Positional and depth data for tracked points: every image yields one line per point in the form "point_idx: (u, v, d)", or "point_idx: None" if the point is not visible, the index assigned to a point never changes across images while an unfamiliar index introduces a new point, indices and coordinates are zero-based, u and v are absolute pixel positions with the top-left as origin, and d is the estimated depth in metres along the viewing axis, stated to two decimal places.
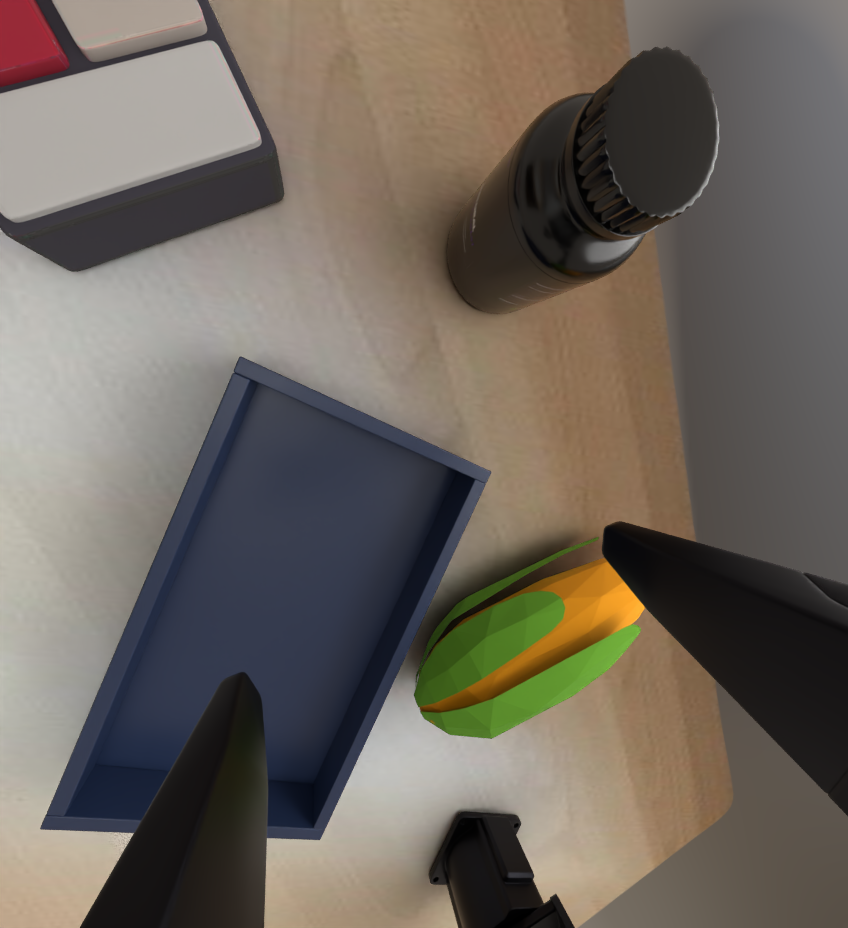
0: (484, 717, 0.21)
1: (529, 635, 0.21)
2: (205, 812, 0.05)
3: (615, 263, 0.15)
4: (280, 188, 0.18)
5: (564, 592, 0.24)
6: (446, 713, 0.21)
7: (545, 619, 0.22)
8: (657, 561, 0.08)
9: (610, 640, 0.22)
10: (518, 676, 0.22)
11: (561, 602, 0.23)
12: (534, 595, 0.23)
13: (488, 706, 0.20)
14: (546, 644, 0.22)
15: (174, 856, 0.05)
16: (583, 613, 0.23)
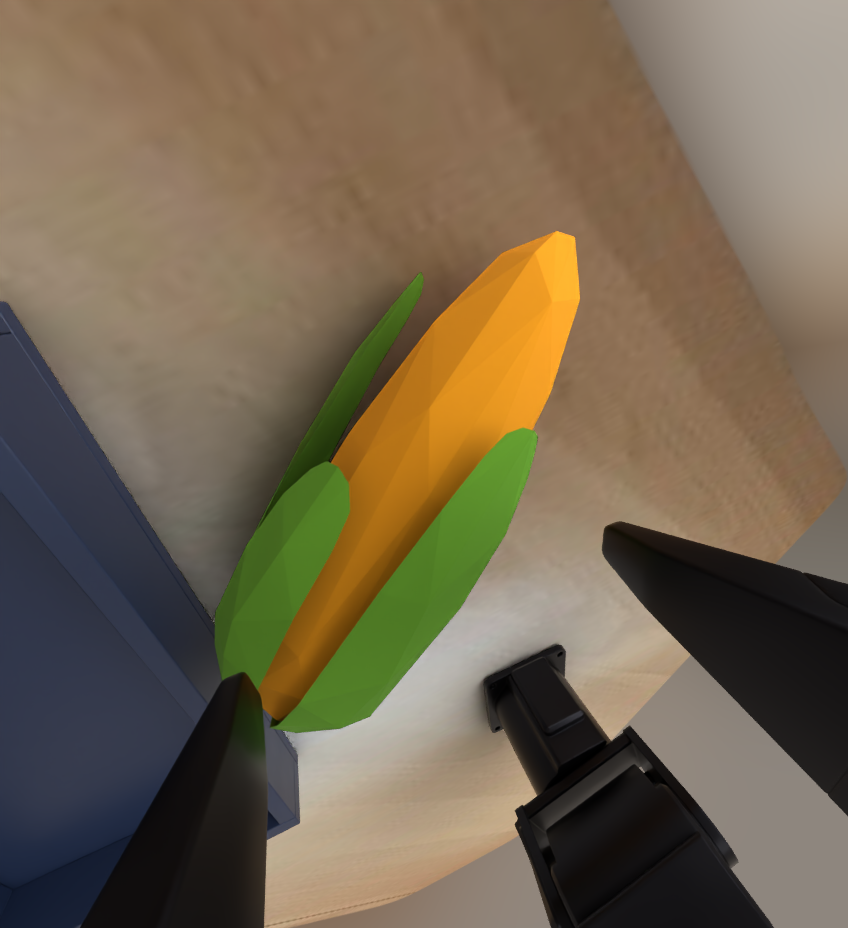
0: (315, 722, 0.11)
1: (296, 582, 0.10)
2: (205, 812, 0.05)
3: None
4: None
5: (364, 440, 0.11)
6: (275, 727, 0.12)
7: (315, 532, 0.10)
8: (657, 561, 0.08)
9: (464, 497, 0.09)
10: (339, 637, 0.11)
11: (339, 477, 0.10)
12: (298, 487, 0.11)
13: (303, 713, 0.11)
14: (358, 563, 0.11)
15: (174, 856, 0.05)
16: (404, 466, 0.10)
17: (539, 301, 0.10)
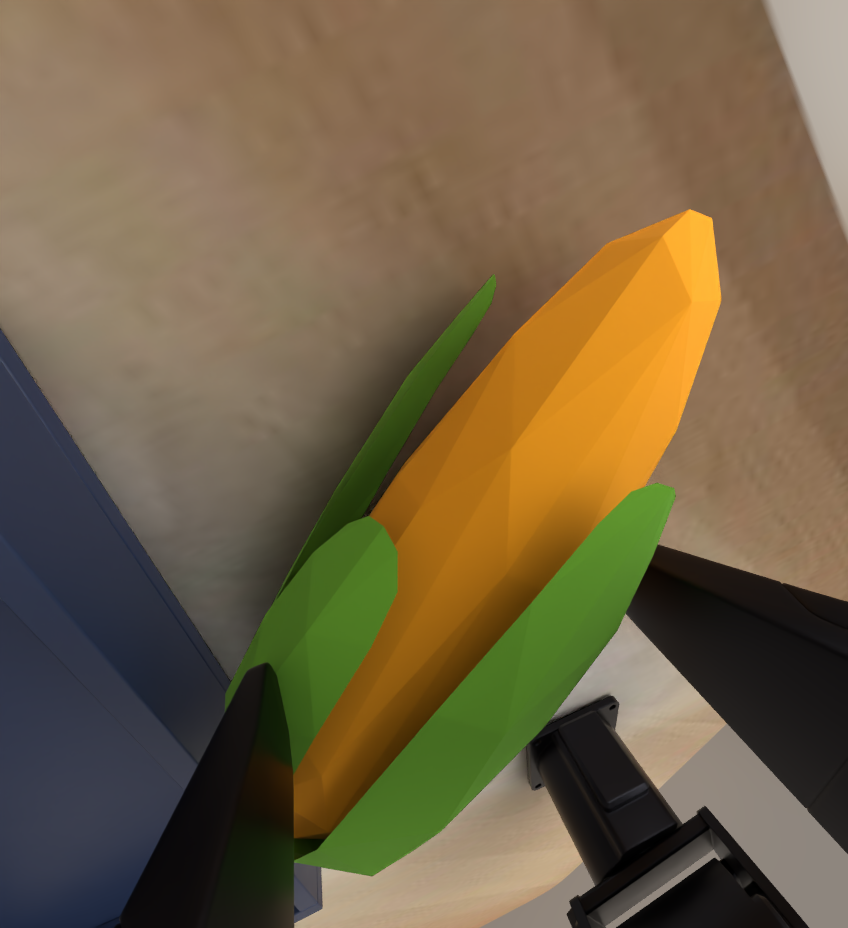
0: (339, 866, 0.08)
1: (321, 685, 0.07)
2: (240, 795, 0.05)
3: None
4: None
5: (418, 488, 0.08)
6: None
7: (350, 616, 0.07)
8: None
9: (566, 584, 0.06)
10: (376, 754, 0.08)
11: (385, 540, 0.07)
12: (331, 547, 0.08)
13: (324, 857, 0.08)
14: (406, 657, 0.08)
15: (214, 836, 0.05)
16: (474, 528, 0.07)
17: (671, 302, 0.07)
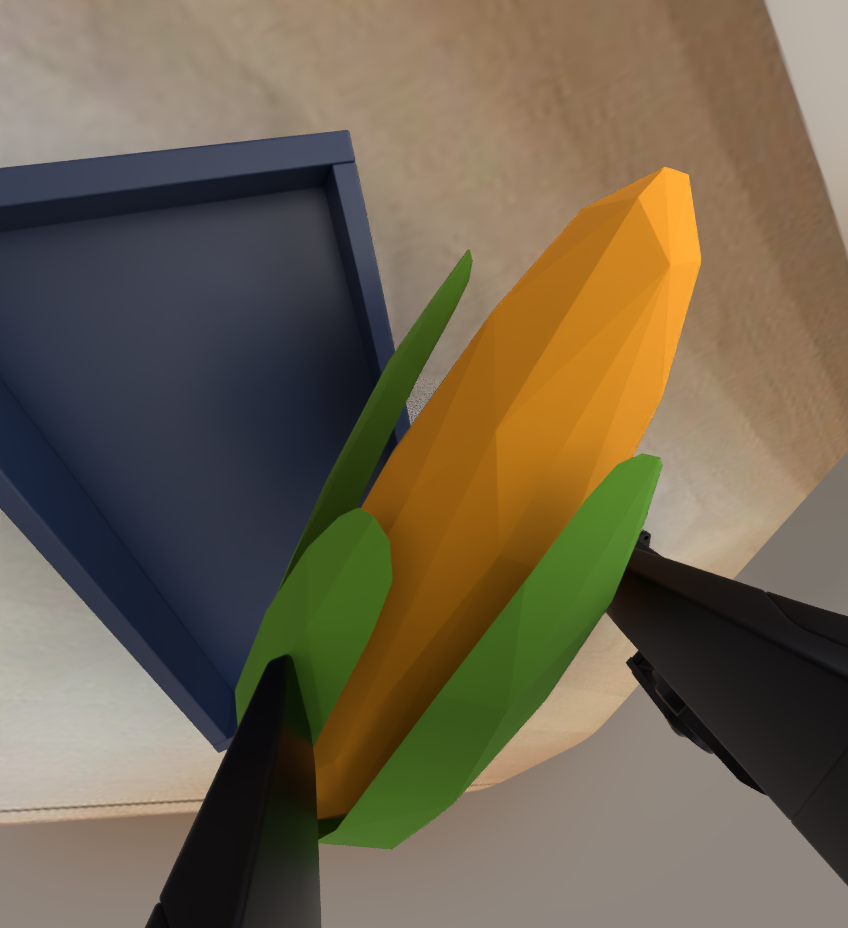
0: (359, 843, 0.09)
1: (325, 675, 0.07)
2: (270, 781, 0.05)
3: None
4: None
5: (407, 476, 0.08)
6: None
7: (348, 608, 0.07)
8: (623, 576, 0.08)
9: (558, 561, 0.06)
10: (385, 736, 0.08)
11: (376, 531, 0.07)
12: (325, 541, 0.08)
13: (343, 836, 0.08)
14: (407, 643, 0.08)
15: (247, 821, 0.05)
16: (464, 512, 0.07)
17: (650, 267, 0.07)
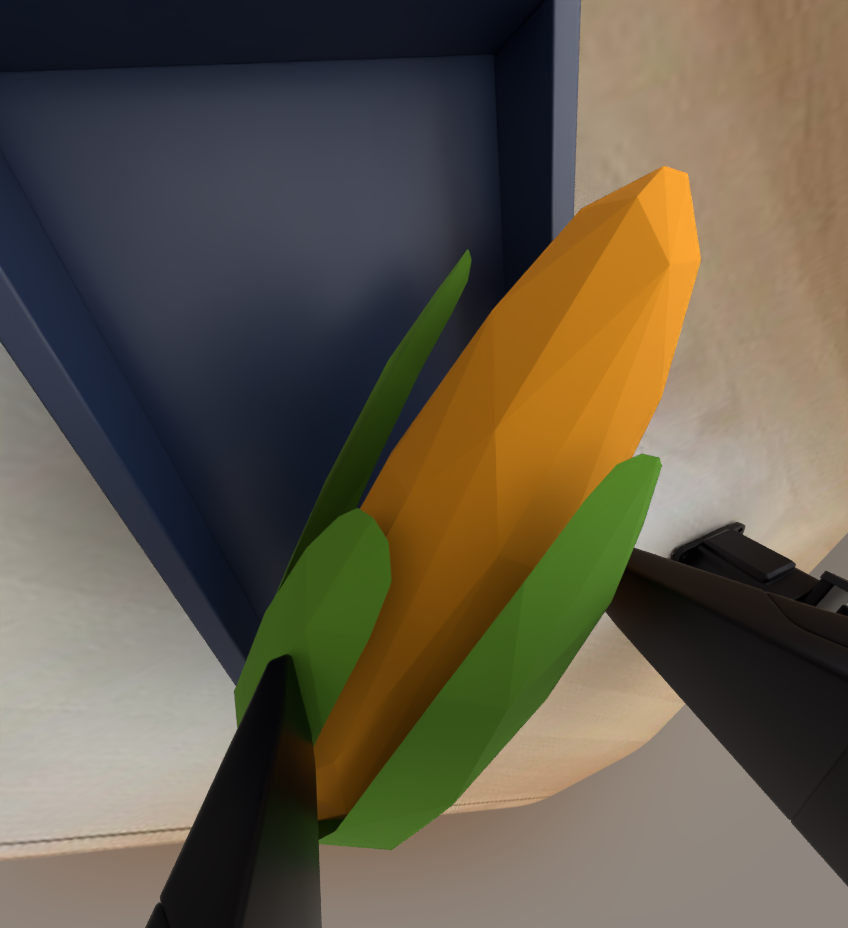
0: (359, 844, 0.09)
1: (324, 676, 0.07)
2: (271, 781, 0.05)
3: None
4: None
5: (406, 476, 0.08)
6: None
7: (347, 609, 0.07)
8: (623, 576, 0.08)
9: (557, 561, 0.06)
10: (385, 737, 0.08)
11: (375, 532, 0.07)
12: (324, 542, 0.08)
13: (343, 837, 0.08)
14: (406, 643, 0.08)
15: (248, 820, 0.05)
16: (463, 512, 0.07)
17: (649, 266, 0.07)
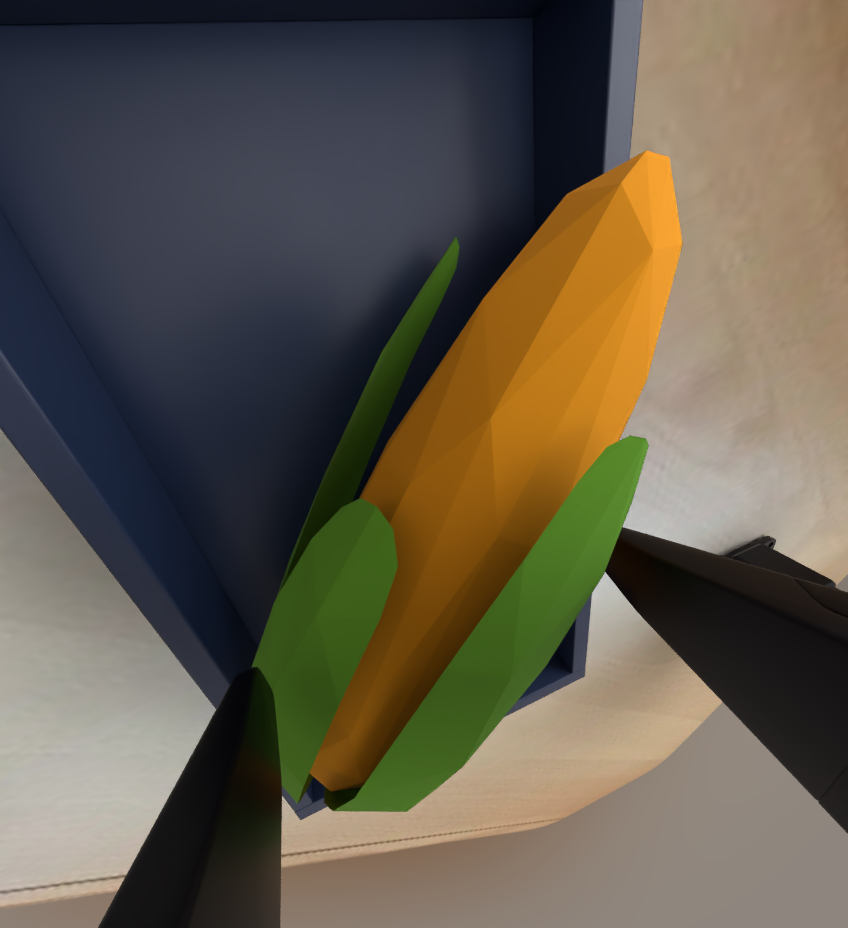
0: (376, 808, 0.09)
1: (338, 658, 0.08)
2: (224, 803, 0.05)
3: None
4: None
5: (405, 465, 0.08)
6: (330, 804, 0.11)
7: (356, 594, 0.08)
8: (648, 565, 0.08)
9: (554, 540, 0.07)
10: (396, 711, 0.09)
11: (380, 520, 0.08)
12: (329, 532, 0.08)
13: (362, 803, 0.09)
14: (413, 623, 0.08)
15: (195, 846, 0.05)
16: (463, 498, 0.08)
17: (633, 253, 0.07)
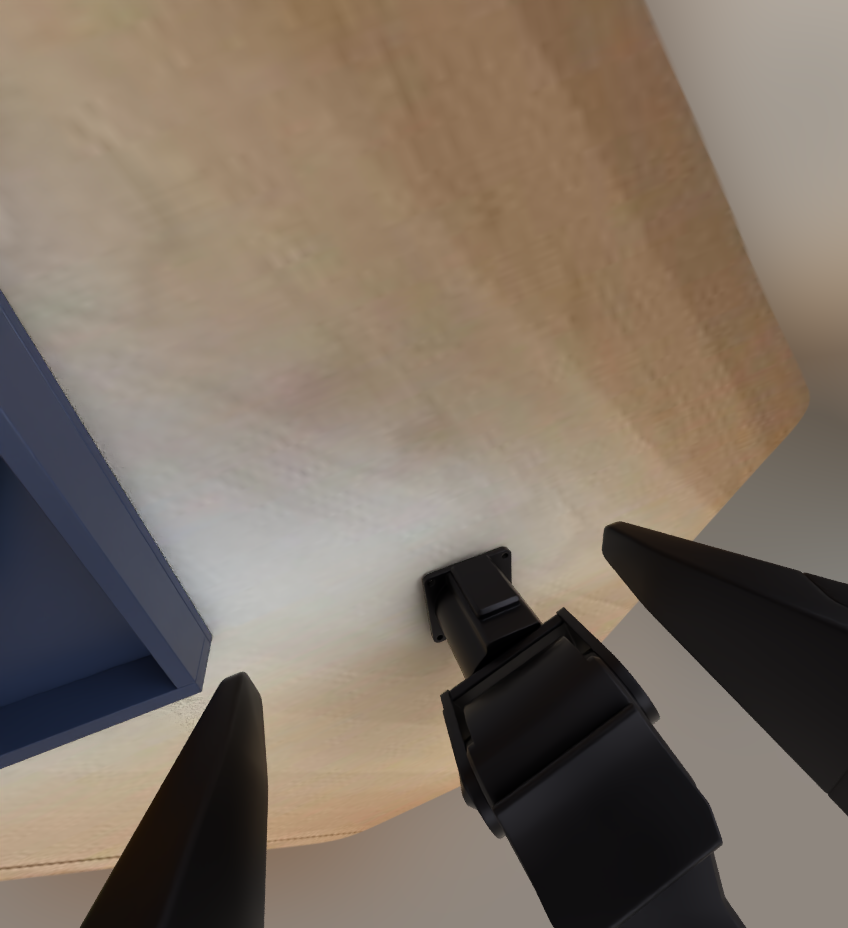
0: None
1: None
2: (205, 812, 0.05)
3: None
4: None
5: None
6: None
7: None
8: (657, 561, 0.08)
9: None
10: None
11: None
12: None
13: None
14: None
15: (174, 856, 0.05)
16: None
17: None
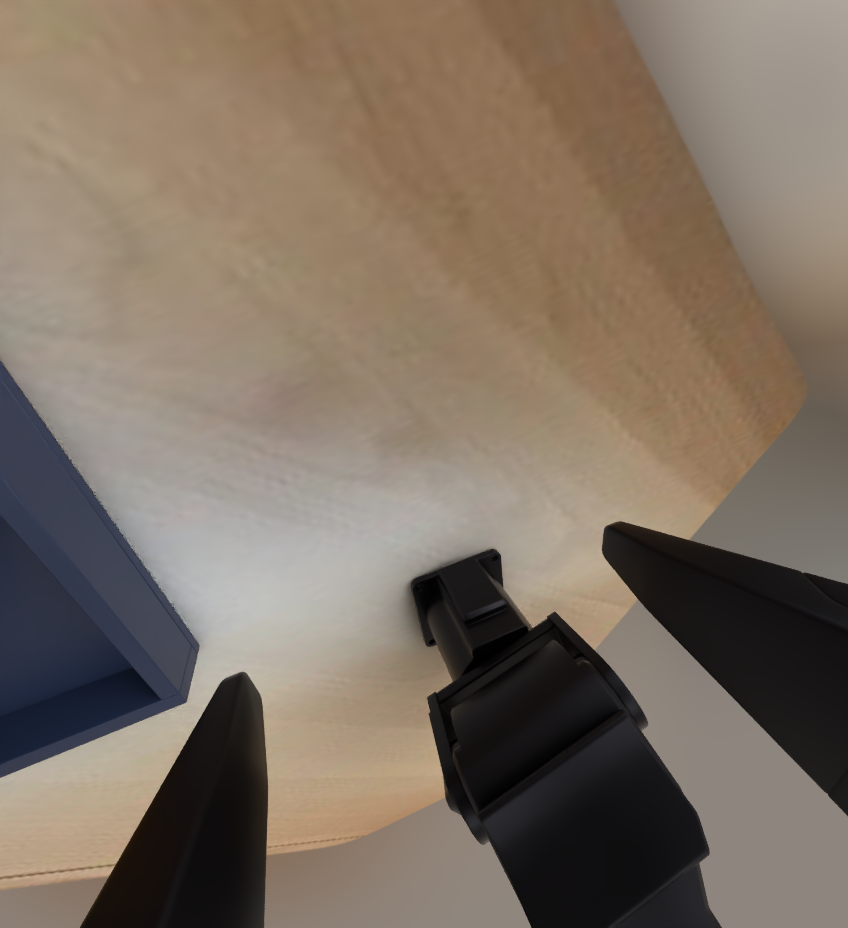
0: None
1: None
2: (205, 812, 0.05)
3: None
4: None
5: None
6: None
7: None
8: (657, 561, 0.08)
9: None
10: None
11: None
12: None
13: None
14: None
15: (174, 856, 0.05)
16: None
17: None
